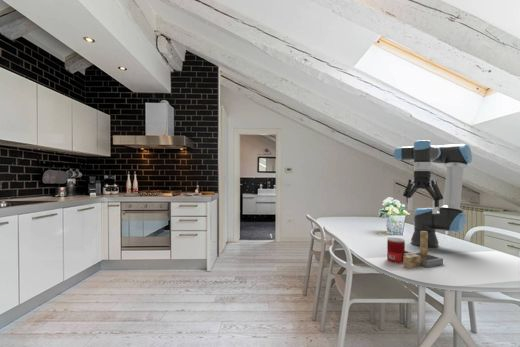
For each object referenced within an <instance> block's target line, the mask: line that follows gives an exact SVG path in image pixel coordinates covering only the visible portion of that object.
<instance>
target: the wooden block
mask: <svg viewBox="0 0 520 347" xmlns="http://www.w3.org/2000/svg"><path fill="white" fill-rule="evenodd" d="M402 264H403V267H404V268H407V269H412V268H419V267H421V256H419V255H416V254H413V255H407V256H403V263H402Z"/></svg>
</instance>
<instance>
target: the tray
mask: <svg viewBox="0 0 520 347" xmlns="http://www.w3.org/2000/svg"><path fill="white" fill-rule="evenodd" d="M413 254H416V255H419V256H420V251H419V252H413V253H412V254H405V256H407V255H413ZM442 265H444V258H442V257H439V256H436V255H432V254H429V253H427V261H426V260H423V259H421V266H422V267H424V268H432V267H437V266H442ZM421 266H420V267H421Z"/></svg>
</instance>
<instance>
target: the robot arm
mask: <svg viewBox="0 0 520 347" xmlns="http://www.w3.org/2000/svg"><path fill="white" fill-rule="evenodd" d="M472 155H473V153H472V150H471V148H470V146H469V144H466V143H458V144H444V145H443V144H442V145H441V144H440V145H435V144H434V145H432V144H431V141H430V140H429V139H422V140H415V141H414V142H413V146H401V147H395V149H394V150H393V157H394V159H395V160H396V161H413V170H414V171H413V179H411V178H410V179H408V182H407V185H406V188H405V190H404V192H403V193H402V196H403V197H406V204H407V211H413V197H412V196H413V195H414V194H415V192H416V191H417V190H419V189H422V190H423V189H424V190H426V191H427V193H428V194H429V195H430V197H432V199H433V200H432V203H431V204H432V206H431V207H418V208H416V209H414V214H413V217H414V218H413V220H414V222H413V223H414V224H413V225H414V226H413V230H414V231H413V234H412V236H411V239H410V244H412V245H415V246H419V247H420V231H427V232H428V248H438V247H439V246H440V245H439V239H438V237H437V235H436V230H437V231H444V232H450V233H461V232H462V231H463V230H464V228H465V226H466V222H467V215H466V214H465V213H464V212H463V209H462V208H461V200H462V199H461V198H462V190H463V180H464V179H463V178H464V171H465V169H466V168H467V167H468V164H470V163H471V162H472V160H473V156H472ZM431 163H434V164H444V166H445V168H446V171H445V172H446V173H445V180H444V181H445V184H444V190H443V194H442V192H441V190H440V188H439V186H438V182H437V180H436V179H432V180H431V172H432V171H431V170H432V168H431V166H432V164H431ZM440 200H443V201H442V205H441V206H440ZM438 208H439V210H438Z"/></svg>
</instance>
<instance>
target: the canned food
mask: <svg viewBox="0 0 520 347" xmlns="http://www.w3.org/2000/svg"><path fill="white" fill-rule="evenodd" d="M386 240H387V245H386V246H387V248H386V249H387V250H386V252H387V254H386V257H387V260H388V261H389V262H390V263H395V262H396V263H397V264H403V256H405V249H406V248H405V247H406V245H405V243H406V240H405V239H403V238H399V237H388V238H387V239H386ZM396 263H395V264H396Z"/></svg>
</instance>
